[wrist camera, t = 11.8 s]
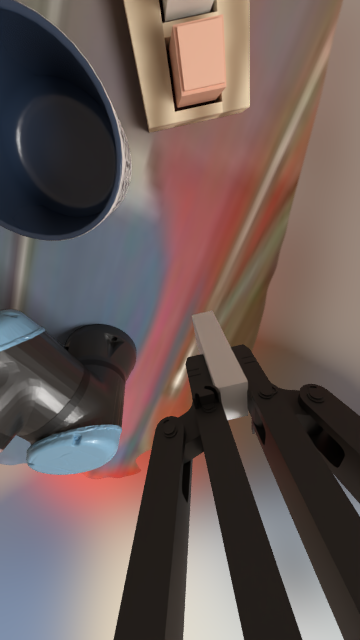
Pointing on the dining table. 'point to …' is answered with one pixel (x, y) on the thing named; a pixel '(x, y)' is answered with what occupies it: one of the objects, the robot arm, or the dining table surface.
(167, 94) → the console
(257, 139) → the dining table surface
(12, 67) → the planter
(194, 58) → the key
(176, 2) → the key mid
